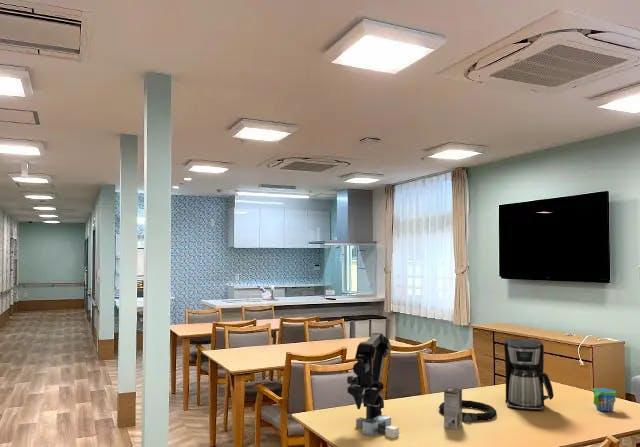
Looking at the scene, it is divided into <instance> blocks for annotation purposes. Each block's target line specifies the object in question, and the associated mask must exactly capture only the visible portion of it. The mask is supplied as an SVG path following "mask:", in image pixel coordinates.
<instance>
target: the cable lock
mask: <svg viewBox="0 0 640 447" xmlns="http://www.w3.org/2000/svg"><path fill="white" fill-rule="evenodd" d="M468 407H472V408H471V409H475V408H477V409H476V410H480V409H481V410H480V411H483V412H478V413H476V412H465V411H462V421H463V422H464V421H465V422H464V423H467V422H470V423H472V422H474V421H475V422H478V421H479V420H486V421H489V420H488V419H490V420H492V418H493V419H494V418H495V417H496V416H497V414H498V413H497V410H496V409H495V408H494V406H492V405H489V404H486V403H484V402H479V401H474V400H464V399H462V408H468ZM438 408H439V409H438V410H439V412H440V413H441V414H443V415H444V401H443V402H441V403H440V404H439V407H438ZM484 411H485V412H484ZM486 411H487V412H486ZM479 422H480V421H479Z"/></svg>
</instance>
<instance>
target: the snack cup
mask: <svg viewBox="0 0 640 447" xmlns="http://www.w3.org/2000/svg"><path fill="white" fill-rule="evenodd" d="M592 393H593V395H594V396H593V405H595V406H596V407H595V408H596V410H598V411H600V410H601V411H600V412H604V411H608V412H607V413H610V411H611V412H613V411H614V406H615V403H616V396H617V391H616V390H613V389H611V388H601V387H596V388H595V387H594V388H592Z"/></svg>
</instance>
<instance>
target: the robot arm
mask: <svg viewBox="0 0 640 447" xmlns="http://www.w3.org/2000/svg"><path fill="white" fill-rule="evenodd" d="M390 350H391V341H390V340H389V338H387V336H385V334H383V333H382V332H373V333H372V334H371V336H370V337H369V338H368V339H367V340H366V341H361V342H359V344H357V347H356V352H355V356H354V357H355V358H354V359H355V360H357V362H355V363H354V364H353V367H352V371H353V373H354V374H355V375H356V376H355V377H354V376H353V375H349V376H347V378H346V380H347V384H348V385H349V386H348V387H347V394H349V395H351V396H352V397H353V399H354V402H355V406H356V408H357V410H360V409H361V408H362V404H363V407H364V408H366V409H365V410H366V412H365V416H366V417H365V419H366V420H368V419H371V418H374V417H377V416H380V415H383V413H382V409H385V402H384V398H383V394H382V391H383V389H384V383H383V382H382V381H381V380H382V374H383V368H384V361H385V358H386V357H388V355H389V352H390Z"/></svg>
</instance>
